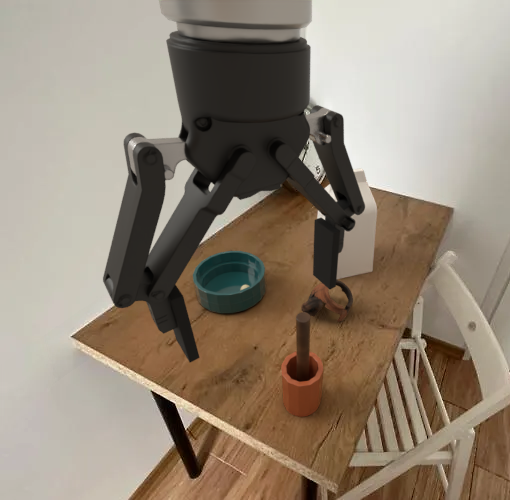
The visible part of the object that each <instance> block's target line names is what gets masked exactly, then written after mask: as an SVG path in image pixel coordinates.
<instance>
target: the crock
mask: <svg viewBox="0 0 510 500" xmlns="http://www.w3.org/2000/svg"><path fill="white" fill-rule="evenodd" d="M280 368H281V384H282V385H281V387H282V403H283V407H284V409H285V410H286V411H287V412H288V413H289V414H290V415H293V416H295V417H299V418H303V417H304V418H305V417H308V416H310V415H313V414H314V413H316V411H317V410H318V409H319V408H320V405H321V401H322V400H323V399H322V398H323V382H324V381H323V380H324V365H323V361H322V359H321V357H319V356H318V354H316V353H315V352H312V351H310V352H309V381H302V382H299V381H297V354H296V350H295V351H293V352H292V353H290V354H288V355H287V356H286V357H285V358H284V359H283V361H282V363H281V366H280Z"/></svg>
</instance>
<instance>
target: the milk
mask: <svg viewBox="0 0 510 500" xmlns="http://www.w3.org/2000/svg"><path fill="white" fill-rule="evenodd" d="M353 171H354V174H355V177H356V180H357V183H358V186H359V189H360V192H361V195H362V198H363V201H364V204H365V209H364V211H363V213H362V214H360V215H356V214H354V215H352V216H351V218H353V219H354V220H355V226H354V228H353V229H352V230H351V231H348V232H347V231H346V230H345V232H344V243H343V249H342V251H341V252H340V253H339V254H338V266H337V279H336V280H340V279H344V278H345V279H346V278H349V277H354V276H359V275H363V274H367V273H373V270H374V258H375V257H374V256H375V246H376V245H375V244H376V233H377V231H376V230H377V219H378V218H377V217H378V206H377V203H376V199H375V198H374V197H375V196H374V195H373V193H372V190H371V188H370V186H369V183H368V182H367V177H366V173H365V171H364V169H363V168H362V167H361V168H353ZM323 188H324V189H325V190H326V191H327V192H328V193H329V194H330V196H331V197H332V198H333V199H334V200H335V201H336V202H337V199H336V197H335V194H334V192H333V190H332V187H331V185H330V183H329V184H328V185H327V186H325V187H323ZM316 216H317V217H316V219H318V218H323V219H324V220H325V216H324V215H322V214H321V213H320V212H319V211H318V210H317V215H316Z"/></svg>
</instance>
